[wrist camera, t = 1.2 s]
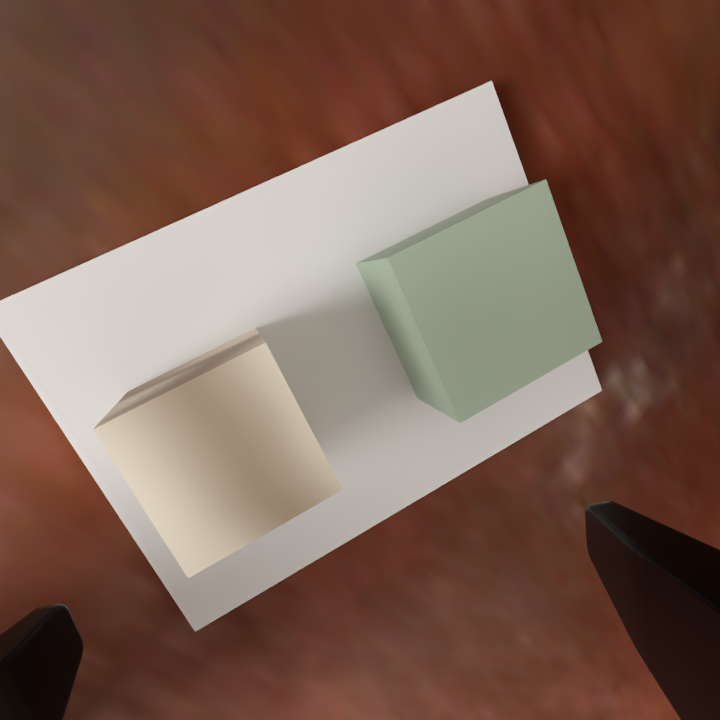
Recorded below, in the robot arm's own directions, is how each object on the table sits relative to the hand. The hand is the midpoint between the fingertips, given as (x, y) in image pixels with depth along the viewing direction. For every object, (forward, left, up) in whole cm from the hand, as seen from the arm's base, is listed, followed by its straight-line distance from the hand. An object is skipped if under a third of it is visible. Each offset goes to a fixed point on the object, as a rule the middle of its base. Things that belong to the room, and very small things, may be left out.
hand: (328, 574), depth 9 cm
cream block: (-2, +1, -11) cm, 11 cm away
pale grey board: (+3, +1, -12) cm, 13 cm away
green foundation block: (+8, +1, -11) cm, 14 cm away
